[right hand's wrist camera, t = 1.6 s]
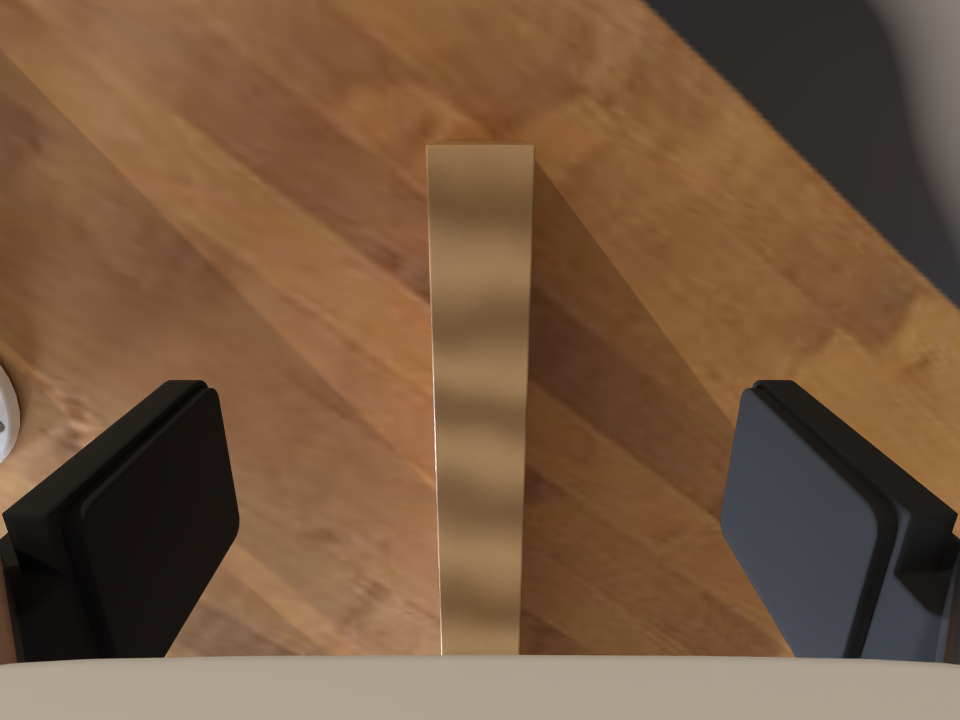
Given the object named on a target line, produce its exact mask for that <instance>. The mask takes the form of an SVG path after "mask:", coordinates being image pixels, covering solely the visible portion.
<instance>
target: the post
mask: <svg viewBox="0 0 960 720" xmlns="http://www.w3.org/2000/svg"><path fill="white" fill-rule="evenodd" d="M426 171H427V203H428V236H429V269H430V302H431V335H432V368H433V401H434V434H435V466H436V499H437V532H438V565H439V598H440V631H441V655H519V650H520V618H521V587H522V555H523V523H524V491H525V460H526V428H527V396H528V364H529V332H530V301H531V269H532V237H533V205H534V174H535V145H532V144H529V143H526V142H523V141H438V142H435V143H432V144H429V145H426Z"/></svg>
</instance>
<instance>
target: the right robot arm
mask: <svg viewBox="0 0 960 720" xmlns="http://www.w3.org/2000/svg"><path fill="white" fill-rule="evenodd" d="M19 428H20V410H19V405H18V401H17V396H16V393H15V391H14V389H13V386H12V384H11V382H10V379H9V377H8V376H7V374H6V373H5V371H4V370H3V368H2V367H1V365H0V463H1V462H2V461H3V460H4V459H5V458H6V457H7V456H8V454H9V453H10V452H11V450H12V448H13V446H14V444H15V443H16V441H17V437H18V432H19ZM2 516H3V518H4V521H5V524H6V527H7V530H8V533H7V534H6V535H5V536H4V537H2V538H1V539H0V720H960V539H959V538H958V537H956V536H955V535H954V534H953V533H952V530H953V527H954V524H955V521H956V518H957V516H958V513H956V512H955V511H954V510H953V509H951V508H950V507H949V506H948V505H946V504H945V503H944V502H943V501H941V500H940V499H939V498H938V497H936V496H935V495H934V494H933V493H932V492H930V491H929V490H928V489H927V488H925V487H924V486H923V485H922V484H920V483H919V482H918V481H917V480H915V479H914V478H913V477H912V476H910V475H909V474H908V473H907V472H905V471H904V470H903V469H902V468H901V467H899V466H898V465H897V464H896V463H894V462H893V461H892V460H891V459H889V458H888V457H887V456H886V455H884V454H883V453H882V452H881V451H879V450H878V449H877V448H876V447H874V446H873V445H872V444H871V443H869V442H868V441H867V440H866V439H865V438H863V437H862V436H861V435H860V434H858V433H857V432H856V431H855V430H853V429H852V428H851V427H850V426H848V425H847V424H846V423H845V422H843V421H842V420H841V419H840V418H838V417H837V416H836V415H835V414H834V413H832V412H831V411H830V410H829V409H827V408H826V407H825V406H824V405H822V404H821V403H820V402H819V401H817V400H816V399H815V398H814V397H812V396H811V395H810V394H809V393H807V392H806V391H805V390H804V389H802V388H801V387H800V386H799V385H798V384H796V383H795V382H793V381H791V380H759V381H756V382H755V383H754V384H753V386H752V388H747V389H745V390H744V391H743V393H742V396H741V401H740V407H739V413H738V418H737V424H736V430H735V436H734V442H733V448H732V453H731V459H730V465H729V471H728V477H727V482H726V488H725V494H724V500H723V506H722V512H721V529H722V533H723V536H724V538H725V540H726V541H727V543H728V545H729V546H730V548H731V550H732V551H733V553H734V555H735V556H736V558H737V560H738V561H739V563H740V565H741V566H742V568H743V570H744V571H745V573H746V575H747V576H748V578H749V580H750V581H751V583H752V585H753V586H754V588H755V590H756V591H757V593H758V595H759V596H760V598H761V600H762V602H763V603H764V605H765V607H766V608H767V610H768V612H769V613H770V615H771V617H772V618H773V620H774V622H775V623H776V625H777V627H778V628H779V630H780V632H781V633H782V635H783V637H784V638H785V640H786V642H787V643H788V645H789V647H790V648H791V650H792V652H793V653H794V655H795V657H796V658H788V657H735V656H617V655H343V656H225V657H172V658H164V657H165V655H166V653H167V652H168V650H169V648H170V647H171V645H172V643H173V642H174V640H175V638H176V637H177V635H178V633H179V632H180V630H181V628H182V627H183V625H184V623H185V622H186V620H187V618H188V617H189V615H190V613H191V612H192V610H193V608H194V607H195V605H196V603H197V602H198V600H199V598H200V596H201V595H202V593H203V591H204V590H205V588H206V586H207V585H208V583H209V581H210V580H211V578H212V576H213V575H214V573H215V571H216V570H217V568H218V566H219V565H220V563H221V561H222V560H223V558H224V556H225V555H226V553H227V551H228V550H229V548H230V546H231V545H232V543H233V541H234V540H235V538H236V536H237V533H238V529H239V512H238V506H237V500H236V494H235V488H234V482H233V477H232V471H231V465H230V459H229V453H228V448H227V442H226V436H225V430H224V424H223V418H222V413H221V407H220V401H219V396H218V393H217V391H216V390H215V389H213V388H208V386H207V384H206V383H205V382H204V381H201V380H169V381H167V382H165V383H164V384H162V385H161V386H160V387H159V388H158V389H156V390H155V391H154V392H153V393H151V394H150V395H149V396H148V397H146V398H145V399H144V400H143V401H141V402H140V403H139V404H138V405H136V406H135V407H134V408H133V409H131V410H130V411H129V412H128V413H126V414H125V415H124V416H123V417H122V418H120V419H119V420H118V421H117V422H115V423H114V424H113V425H112V426H110V427H109V428H108V429H107V430H105V431H104V432H103V433H102V434H100V435H99V436H98V437H97V438H95V439H94V440H93V441H92V442H91V443H89V444H88V445H87V446H86V447H84V448H83V449H82V450H81V451H79V452H78V453H77V454H76V455H74V456H73V457H72V458H71V459H69V460H68V461H67V462H66V463H64V464H63V465H62V466H61V467H59V468H58V469H57V470H56V471H55V472H53V473H52V474H51V475H50V476H48V477H47V478H46V479H45V480H43V481H42V482H41V483H40V484H38V485H37V486H36V487H35V488H33V489H32V490H31V491H30V492H28V493H27V494H26V495H25V496H24V497H22V498H21V499H20V500H19V501H17V502H16V503H15V504H14V505H12V506H11V507H10V508H9V509H7V510H6V511H5V512H4V513H2Z"/></svg>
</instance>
